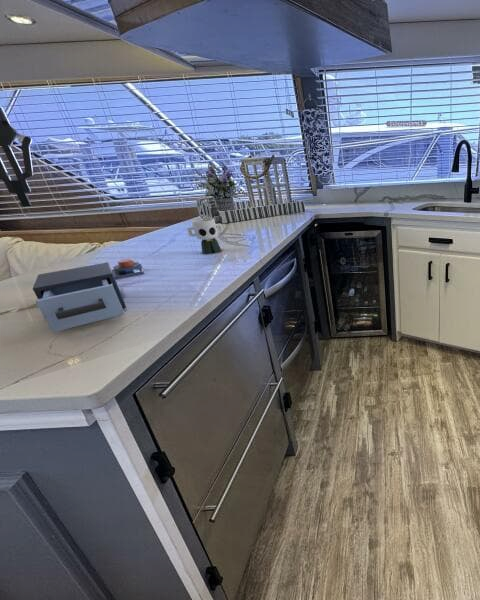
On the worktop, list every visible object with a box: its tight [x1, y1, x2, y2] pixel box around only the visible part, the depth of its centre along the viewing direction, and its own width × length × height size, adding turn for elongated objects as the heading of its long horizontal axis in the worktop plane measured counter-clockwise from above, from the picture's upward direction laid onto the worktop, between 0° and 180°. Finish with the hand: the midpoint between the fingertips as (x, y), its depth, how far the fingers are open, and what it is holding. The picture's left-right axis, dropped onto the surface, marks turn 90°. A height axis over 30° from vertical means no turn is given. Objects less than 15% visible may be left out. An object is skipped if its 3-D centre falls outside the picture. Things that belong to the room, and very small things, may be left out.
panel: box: [111, 261, 145, 281], centre depth 96 cm, size 12×10×4 cm
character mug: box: [187, 218, 224, 255], centre depth 116 cm, size 11×7×13 cm, turn 128°
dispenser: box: [32, 262, 127, 309], centre depth 75 cm, size 14×13×9 cm
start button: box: [117, 258, 135, 267], centre depth 96 cm, size 4×4×2 cm
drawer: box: [35, 278, 125, 333], centre depth 68 cm, size 17×11×7 cm, turn 43°
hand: (27, 206), depth 85 cm, fingers closed
